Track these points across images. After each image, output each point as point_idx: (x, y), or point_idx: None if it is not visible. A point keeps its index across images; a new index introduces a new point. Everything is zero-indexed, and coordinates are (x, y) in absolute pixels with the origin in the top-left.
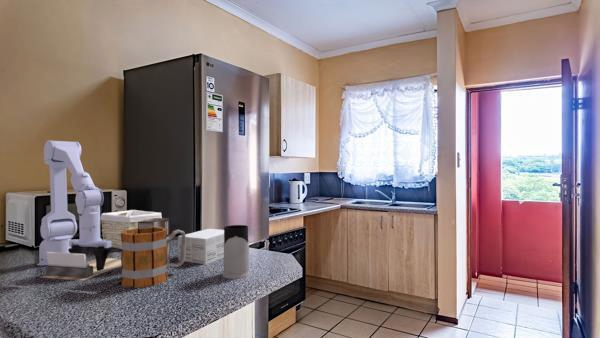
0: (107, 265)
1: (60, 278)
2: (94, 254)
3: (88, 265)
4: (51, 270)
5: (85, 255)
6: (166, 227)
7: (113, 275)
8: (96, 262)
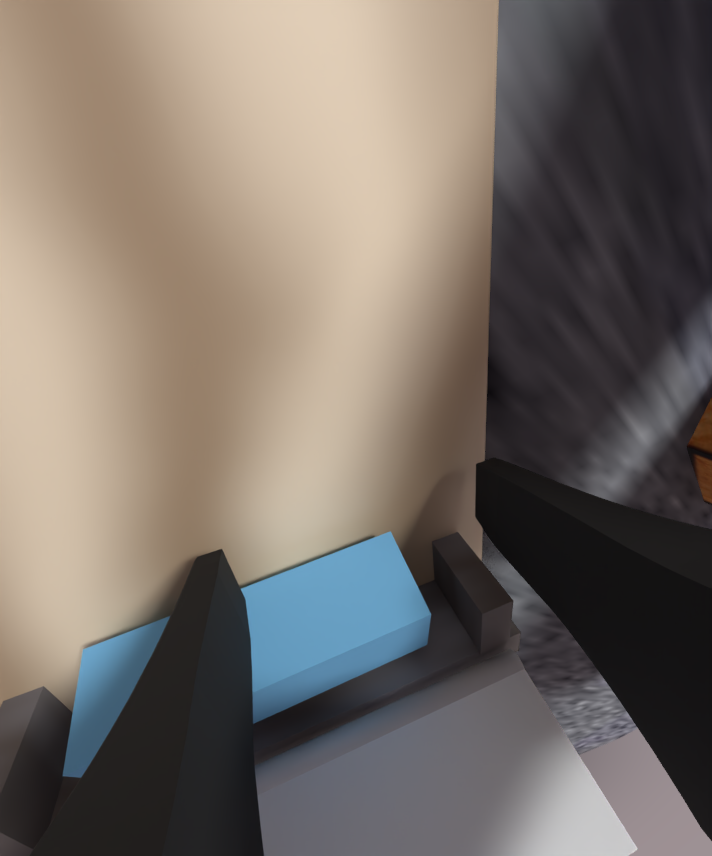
0: (259, 207)
1: None
2: (642, 732)
3: (424, 608)
4: None
5: (619, 820)
6: None
7: (571, 415)
8: (550, 599)
